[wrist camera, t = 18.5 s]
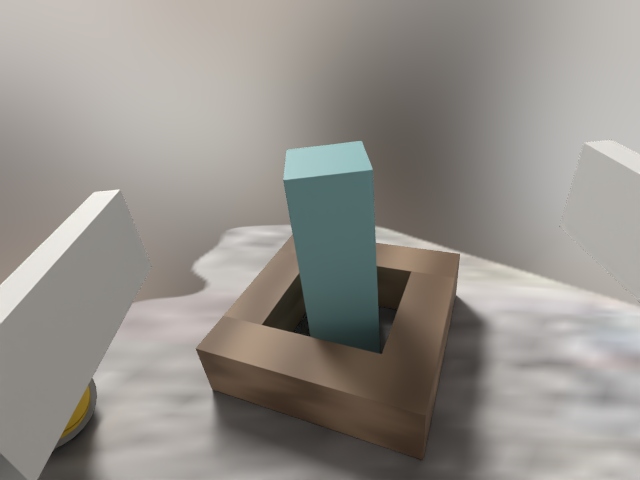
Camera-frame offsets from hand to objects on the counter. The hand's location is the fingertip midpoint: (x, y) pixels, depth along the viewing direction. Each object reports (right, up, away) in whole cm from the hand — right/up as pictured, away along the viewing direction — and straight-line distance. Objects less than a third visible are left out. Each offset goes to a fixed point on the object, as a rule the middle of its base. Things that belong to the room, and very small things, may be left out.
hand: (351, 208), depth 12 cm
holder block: (+1, -8, +17) cm, 19 cm away
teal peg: (+1, -8, +17) cm, 19 cm away
